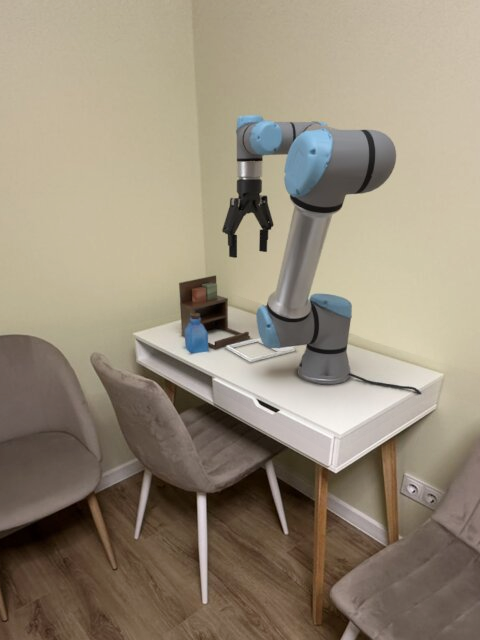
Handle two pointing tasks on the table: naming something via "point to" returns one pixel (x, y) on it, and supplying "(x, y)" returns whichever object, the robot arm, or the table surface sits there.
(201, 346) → the perfume bottle
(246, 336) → the desk rack
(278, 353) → the photo frame
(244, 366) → the table surface
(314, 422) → the table surface
